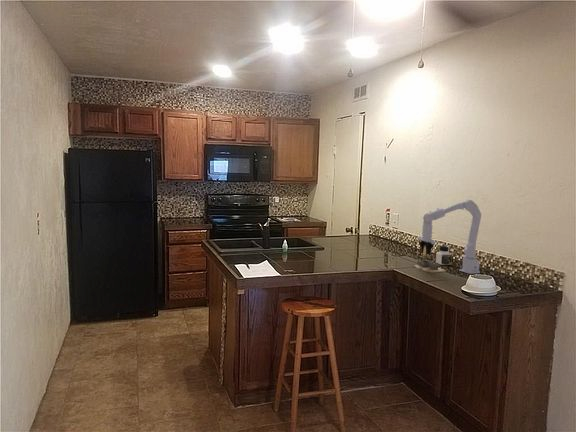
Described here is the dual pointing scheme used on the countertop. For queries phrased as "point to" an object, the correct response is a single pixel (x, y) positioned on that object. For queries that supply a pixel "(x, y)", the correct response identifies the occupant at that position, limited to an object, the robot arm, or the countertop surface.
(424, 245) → the brass fitting
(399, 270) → the countertop surface
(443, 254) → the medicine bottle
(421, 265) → the manifold board
